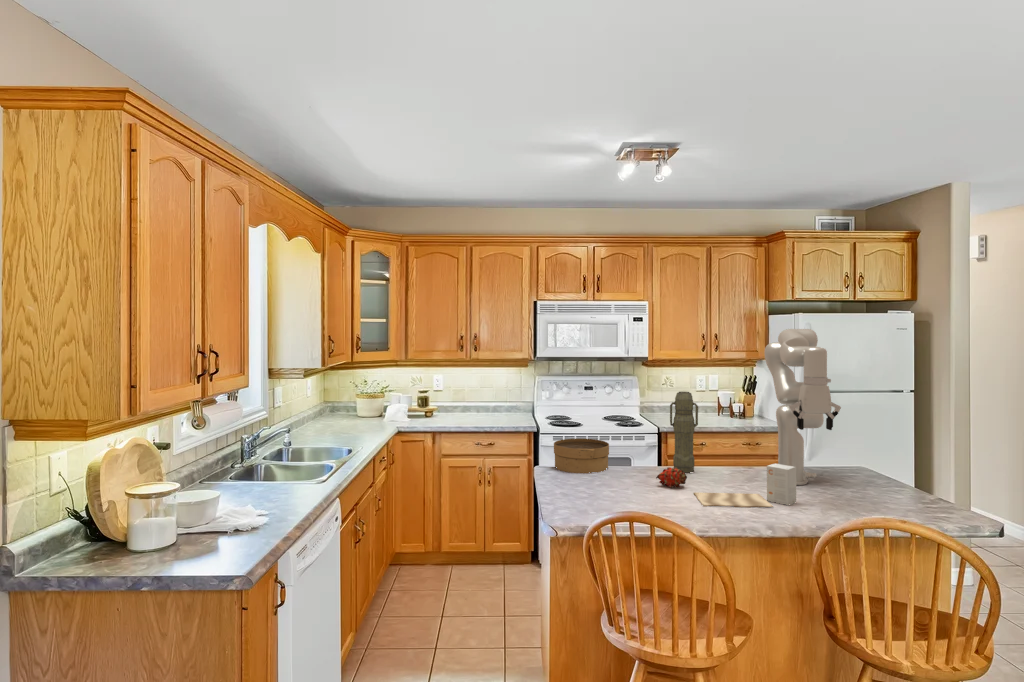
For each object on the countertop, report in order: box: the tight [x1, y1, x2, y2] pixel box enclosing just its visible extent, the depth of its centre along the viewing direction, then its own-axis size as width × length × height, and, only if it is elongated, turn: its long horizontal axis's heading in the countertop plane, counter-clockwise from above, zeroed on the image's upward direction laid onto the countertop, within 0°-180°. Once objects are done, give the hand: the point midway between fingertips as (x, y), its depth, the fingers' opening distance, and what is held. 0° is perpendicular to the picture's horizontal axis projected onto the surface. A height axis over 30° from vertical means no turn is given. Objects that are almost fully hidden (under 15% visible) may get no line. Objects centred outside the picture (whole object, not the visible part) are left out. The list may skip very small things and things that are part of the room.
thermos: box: [669, 391, 699, 474], centre depth 265 cm, size 9×12×35 cm
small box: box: [766, 463, 797, 506], centre depth 218 cm, size 8×6×13 cm
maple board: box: [693, 491, 774, 508], centre depth 219 cm, size 24×16×1 cm, turn 85°
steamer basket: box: [553, 438, 610, 474], centre depth 274 cm, size 25×25×11 cm
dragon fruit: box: [655, 466, 688, 489], centre depth 239 cm, size 8×8×12 cm
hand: (814, 429), depth 216 cm, fingers open, 9 cm apart
